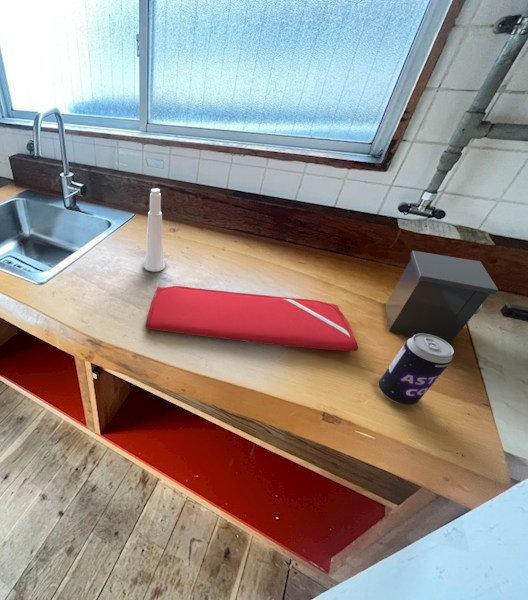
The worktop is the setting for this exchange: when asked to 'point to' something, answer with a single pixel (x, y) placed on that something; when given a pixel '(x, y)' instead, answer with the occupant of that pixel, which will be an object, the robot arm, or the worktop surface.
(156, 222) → the cosmetic bottle
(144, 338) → the worktop surface
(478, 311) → the flush button
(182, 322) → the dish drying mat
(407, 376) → the beverage can
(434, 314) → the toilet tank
